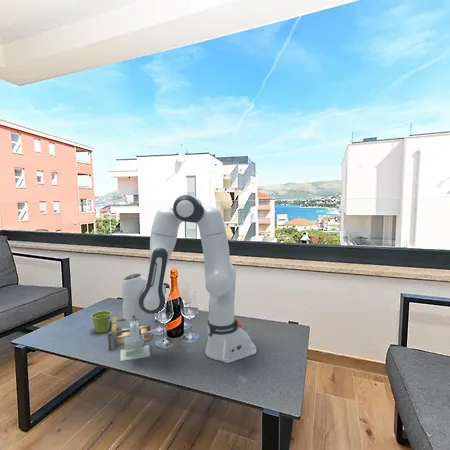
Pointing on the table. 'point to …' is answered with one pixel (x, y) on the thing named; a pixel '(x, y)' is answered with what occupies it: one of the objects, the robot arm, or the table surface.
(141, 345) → the grey block with handle
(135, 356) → the sage mat
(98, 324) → the plant pot
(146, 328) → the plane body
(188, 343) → the table surface
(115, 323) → the brass bolt
